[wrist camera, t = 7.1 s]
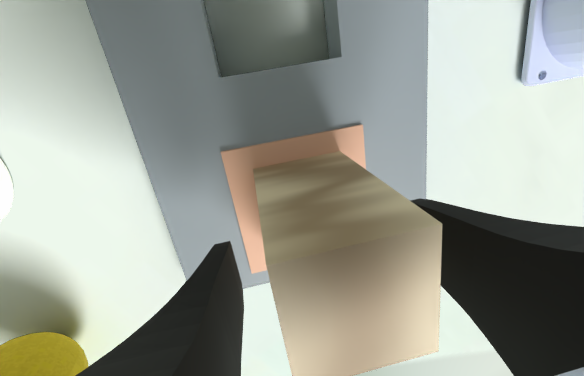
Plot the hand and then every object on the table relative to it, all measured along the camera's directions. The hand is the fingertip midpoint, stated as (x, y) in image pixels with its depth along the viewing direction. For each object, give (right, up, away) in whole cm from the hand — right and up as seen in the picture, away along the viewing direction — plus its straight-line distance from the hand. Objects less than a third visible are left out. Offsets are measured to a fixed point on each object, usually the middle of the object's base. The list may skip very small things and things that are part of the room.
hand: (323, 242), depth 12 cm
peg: (-1, +2, +4) cm, 4 cm away
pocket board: (-2, +6, +4) cm, 8 cm away
